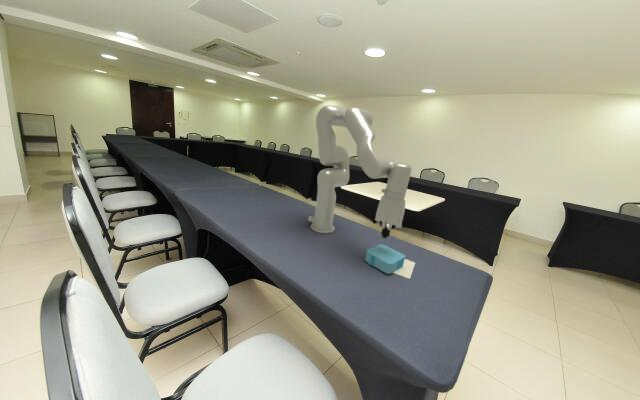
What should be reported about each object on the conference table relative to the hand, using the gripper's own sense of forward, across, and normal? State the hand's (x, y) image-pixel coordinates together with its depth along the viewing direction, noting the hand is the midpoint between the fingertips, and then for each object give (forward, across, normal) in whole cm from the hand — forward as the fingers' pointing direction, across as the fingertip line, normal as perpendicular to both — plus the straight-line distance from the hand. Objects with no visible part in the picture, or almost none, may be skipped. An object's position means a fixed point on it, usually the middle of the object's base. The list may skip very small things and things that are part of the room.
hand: (384, 237), depth 98 cm
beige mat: (+10, +6, 0) cm, 12 cm away
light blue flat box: (+8, -3, -1) cm, 8 cm away
